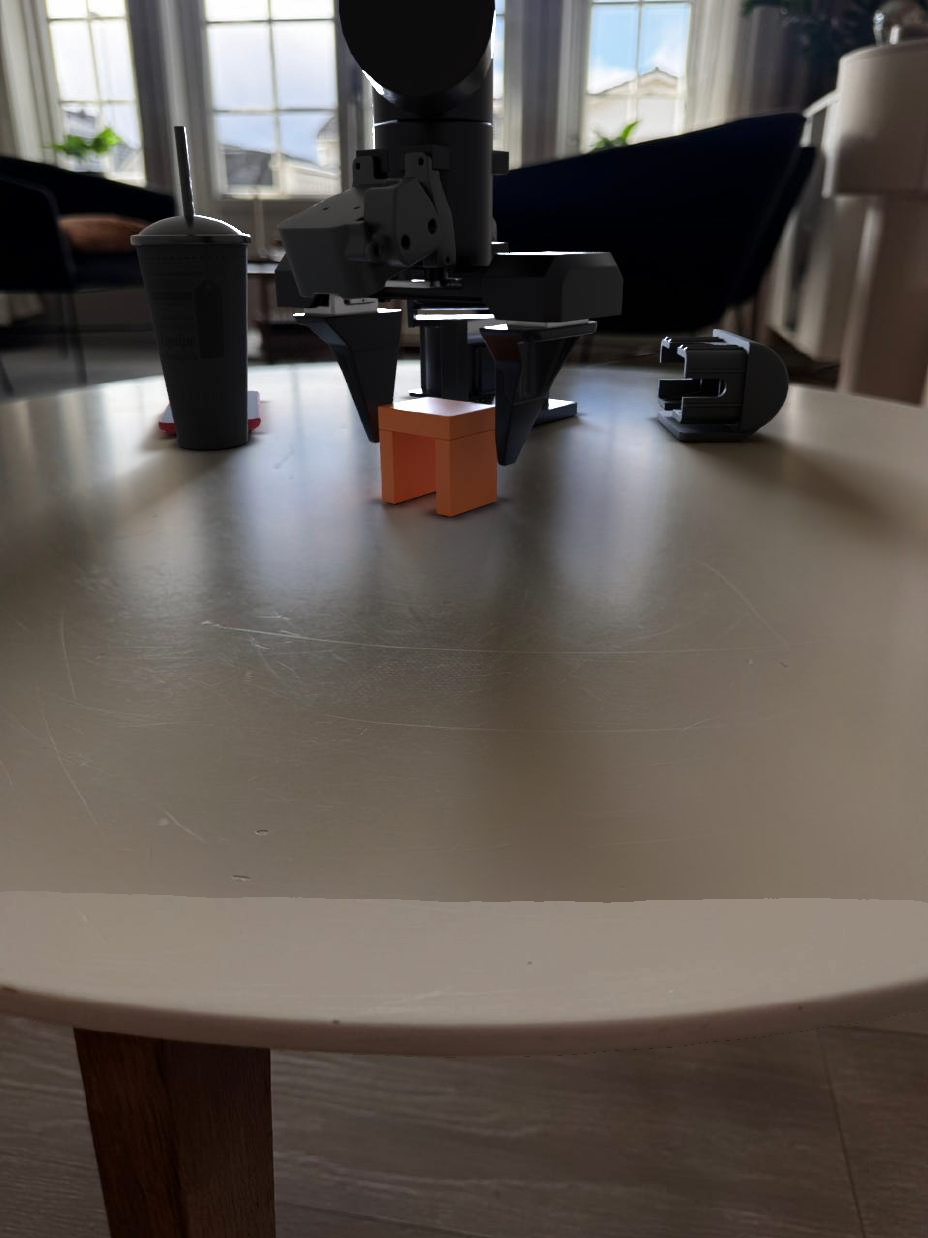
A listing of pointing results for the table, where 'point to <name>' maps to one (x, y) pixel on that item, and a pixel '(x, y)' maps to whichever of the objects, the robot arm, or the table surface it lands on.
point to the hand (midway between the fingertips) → (438, 452)
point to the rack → (456, 367)
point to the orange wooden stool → (438, 453)
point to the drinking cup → (199, 318)
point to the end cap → (720, 387)
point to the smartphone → (253, 414)
